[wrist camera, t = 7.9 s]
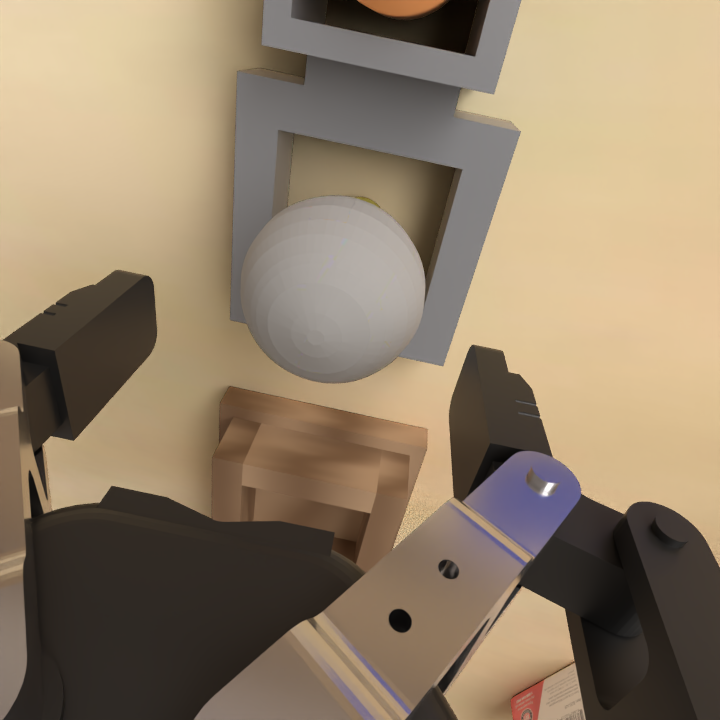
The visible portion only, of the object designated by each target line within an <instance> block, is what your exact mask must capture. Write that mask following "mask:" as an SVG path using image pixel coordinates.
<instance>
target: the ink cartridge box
mask: <svg viewBox="0 0 720 720" xmlns="http://www.w3.org/2000/svg"><path fill="white" fill-rule="evenodd" d="M511 708H512V715H513V720H586V719H585V713H584V708H583V702H582V697H581V692H580V686H579V681H578V676H577V670H576V665H575V663H573V664H571V665H570V666H568V667H566V668H564V669H562V670H561V671H559V672H557V673H555V674H553V675H552V676H550V677H548V678H546V679H545V680H543V681H541V682H539V683H537V684H536V685H534V686H532V687H530V688H529V689H527V690H525V691H523V692H521V693H520V694H518V695H516V696H514V697H513V698H512V699H511Z"/></svg>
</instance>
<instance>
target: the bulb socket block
mask: <svg viewBox="0 0 720 720" xmlns="http://www.w3.org/2000/svg"><path fill="white" fill-rule="evenodd" d="M520 3H521V0H478V3H477V7H476V11H475V15H474V19H473V23H472V27H471V31H470V35H469V39H468V43H467V47H466V51H465V54H464V53H459V52H454V51H450V50H445V49H440V48H435V47H431V46H426V45H421V44H417V43H412V42H407V41H402V40H398V39H393V38H388V37H384V36H379V35H374V34H369V33H365V32H360V31H355V30H351V29H346V28H341V27H336V26H332V25H327V24H325V22H326V13H327V4H328V0H264V7H263V26H262V45H264V46H268V47H273V48H278V49H282V50H287V51H292V52H297V53H301V54H306V55H307V62H306V72H305V78H304V77H300V76H295V75H290V74H285V73H281V72H276V71H271V70H267V69H262V68H256V69H249V70H242V71H237V98H236V132H235V167H234V202H233V236H232V271H231V305H230V320H232V321H237V322H241V323H246V324H247V322H246V319H245V317H244V313H243V310H242V304H241V293H240V291H241V273H242V266H243V263H244V259H245V256H246V254H247V251H248V249H249V247H250V246H251V244H252V242H253V241H254V239H255V238H256V237H257V235H258V234H259V233H260V231H261V230H262V229H263V228H264V226H265V225H266V224H267V223H268V222H269V221H270V220H271V219H272V218H273V217H274V216H275V215H276V214H278V213H279V212H281V211H282V210H283V209H285V208H287V205H288V194H289V183H290V172H291V161H292V150H293V139H294V133H295V134H300V135H305V136H309V137H314V138H319V139H323V140H328V141H333V142H337V143H342V144H347V145H351V146H356V147H361V148H365V149H370V150H375V151H379V152H384V153H389V154H394V155H398V156H403V157H408V158H412V159H417V160H422V161H426V162H431V163H436V164H440V165H445V166H450V167H454V168H456V169H455V173H454V177H453V180H452V184H451V188H450V191H449V195H448V199H447V202H446V206H445V210H444V213H443V217H442V221H441V224H440V228H439V232H438V235H437V239H436V243H435V246H434V250H433V254H432V257H431V261H430V265H429V268H428V272H427V276H426V279H425V299H424V308H423V314H422V318H421V321H420V324H419V326H418V329H417V331H416V333H415V335H414V337H413V338H412V340H411V341H410V342H409V344H408V345H407V346H406V347H405V348H404V350H403V351H402V352H401V353H400V354H399V355H398V357H403V358H407V359H412V360H417V361H421V362H426V363H431V364H435V365H440V366H443V365H444V362H445V359H446V356H447V353H448V350H449V347H450V344H451V341H452V338H453V335H454V332H455V329H456V326H457V323H458V320H459V317H460V314H461V311H462V308H463V305H464V302H465V299H466V296H467V293H468V290H469V287H470V284H471V281H472V278H473V275H474V272H475V269H476V266H477V263H478V259H479V256H480V253H481V250H482V247H483V244H484V241H485V238H486V235H487V232H488V229H489V226H490V223H491V220H492V217H493V214H494V211H495V208H496V205H497V202H498V199H499V196H500V193H501V190H502V187H503V184H504V181H505V178H506V175H507V172H508V169H509V166H510V163H511V160H512V157H513V154H514V151H515V148H516V145H517V142H518V139H519V136H520V133H521V131H520V130H519V129H518V128H517V127H516V126H515V125H514V124H513V123H512V122H511V121H506V120H502V119H497V118H492V117H488V116H483V115H478V114H473V113H469V112H464V111H459V110H455V109H456V105H457V101H458V97H459V94H460V90H461V88H466V89H471V90H475V91H480V92H485V93H490V94H494V92H495V89H496V86H497V82H498V79H499V75H500V72H501V68H502V65H503V61H504V58H505V55H506V51H507V48H508V44H509V41H510V37H511V34H512V31H513V27H514V24H515V20H516V17H517V13H518V10H519V6H520Z"/></svg>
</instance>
